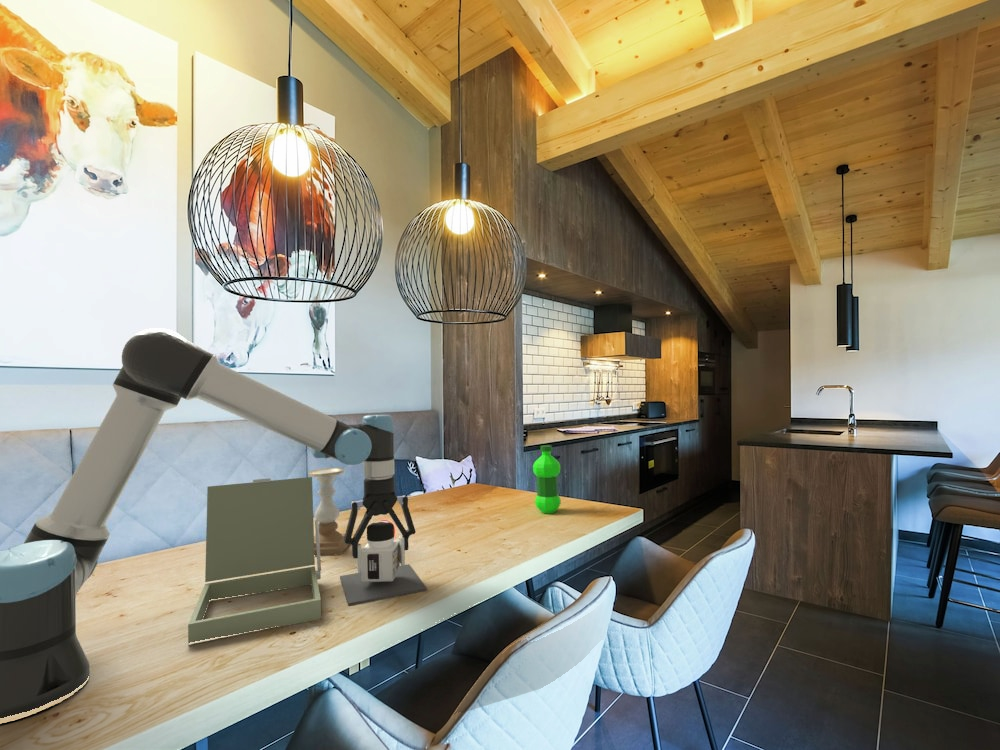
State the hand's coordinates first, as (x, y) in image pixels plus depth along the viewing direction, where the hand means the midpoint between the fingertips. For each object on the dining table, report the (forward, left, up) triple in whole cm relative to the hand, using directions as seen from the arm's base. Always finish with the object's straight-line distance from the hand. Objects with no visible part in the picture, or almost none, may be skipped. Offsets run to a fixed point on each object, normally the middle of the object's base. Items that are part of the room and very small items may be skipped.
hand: (381, 567), depth 122 cm
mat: (0, 0, -4) cm, 4 cm away
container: (0, 0, -2) cm, 2 cm away
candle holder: (+35, +10, -4) cm, 37 cm away
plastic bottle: (+41, -70, -4) cm, 81 cm away
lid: (+12, +27, +11) cm, 31 cm away
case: (0, +26, -4) cm, 27 cm away
